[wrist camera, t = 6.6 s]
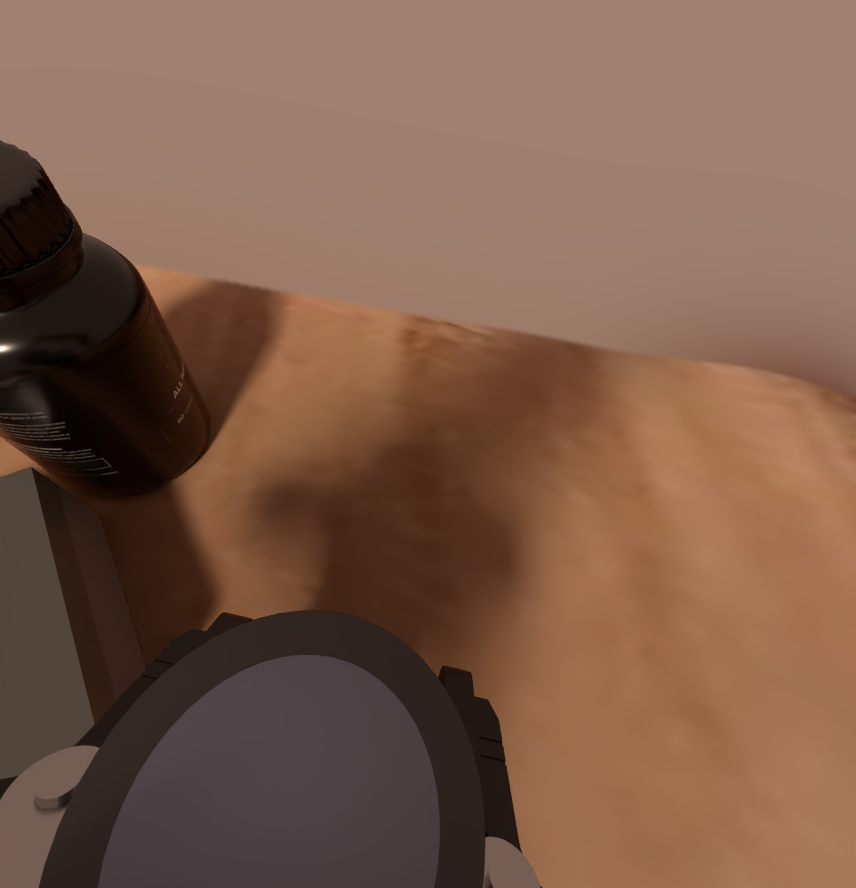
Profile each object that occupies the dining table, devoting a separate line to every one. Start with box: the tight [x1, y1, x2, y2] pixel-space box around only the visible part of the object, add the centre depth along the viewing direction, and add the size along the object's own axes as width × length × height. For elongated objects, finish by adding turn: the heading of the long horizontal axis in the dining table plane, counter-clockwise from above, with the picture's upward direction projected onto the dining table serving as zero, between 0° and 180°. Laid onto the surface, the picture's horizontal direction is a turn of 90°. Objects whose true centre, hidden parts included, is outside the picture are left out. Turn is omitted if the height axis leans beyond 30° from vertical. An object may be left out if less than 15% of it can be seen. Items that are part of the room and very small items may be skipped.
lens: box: [39, 610, 486, 888], centre depth 9 cm, size 5×5×10 cm
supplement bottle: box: [0, 140, 210, 496], centre depth 15 cm, size 7×7×12 cm
